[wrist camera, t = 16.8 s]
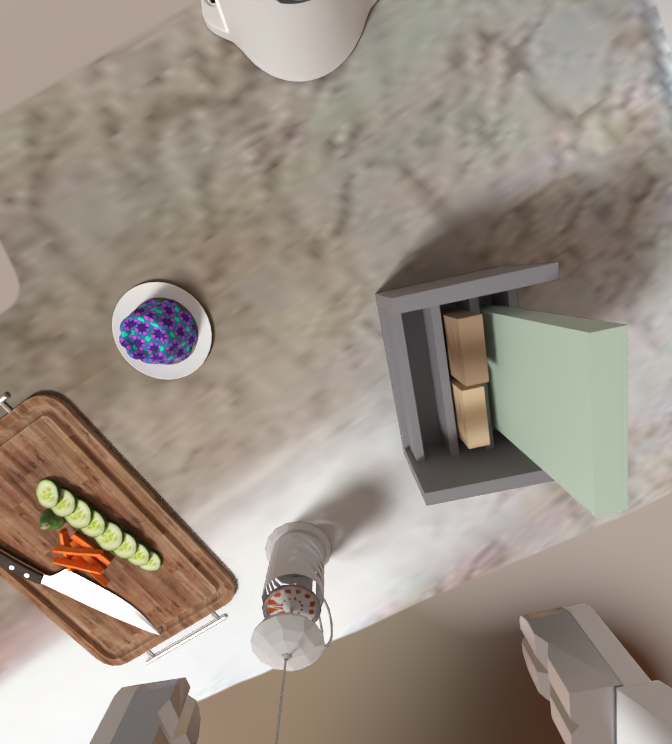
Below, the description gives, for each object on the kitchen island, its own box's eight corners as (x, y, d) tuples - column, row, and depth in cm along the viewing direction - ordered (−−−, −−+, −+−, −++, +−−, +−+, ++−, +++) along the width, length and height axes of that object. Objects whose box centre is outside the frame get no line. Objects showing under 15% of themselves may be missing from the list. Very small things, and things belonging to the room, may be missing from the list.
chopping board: (255, 597, 55) (251, 616, 52) (127, 672, 58) (116, 693, 55) (39, 368, 45) (18, 374, 42) (-101, 475, 48) (-129, 488, 45)
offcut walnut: (433, 312, 42) (457, 319, 34) (453, 307, 42) (482, 314, 34) (441, 367, 43) (465, 386, 36) (460, 363, 43) (489, 381, 36)
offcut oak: (442, 375, 44) (461, 391, 37) (461, 371, 44) (483, 386, 37) (449, 425, 46) (469, 448, 39) (467, 421, 45) (490, 444, 39)
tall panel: (468, 308, 42) (589, 332, 22) (488, 303, 42) (627, 324, 22) (481, 415, 45) (594, 516, 26) (499, 411, 45) (627, 510, 26)
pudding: (225, 304, 43) (212, 307, 38) (198, 390, 46) (182, 404, 40) (128, 266, 41) (100, 264, 36) (106, 357, 44) (77, 368, 39)
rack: (375, 293, 42) (391, 298, 31) (497, 266, 42) (558, 262, 31) (404, 453, 48) (426, 505, 37) (512, 431, 48) (568, 477, 36)
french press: (301, 509, 50) (275, 724, 26) (352, 560, 52) (372, 799, 28) (251, 547, 52) (182, 783, 27) (303, 594, 54) (283, 850, 30)
